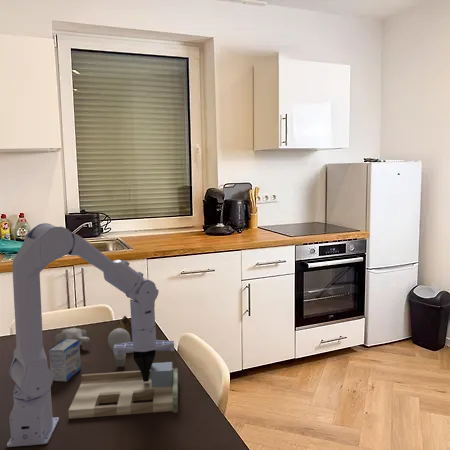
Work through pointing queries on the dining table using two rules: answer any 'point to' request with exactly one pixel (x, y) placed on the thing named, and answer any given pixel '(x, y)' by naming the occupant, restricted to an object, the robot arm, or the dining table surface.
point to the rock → (125, 326)
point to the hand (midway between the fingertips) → (146, 379)
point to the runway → (122, 395)
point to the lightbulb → (118, 338)
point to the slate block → (162, 374)
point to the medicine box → (65, 360)
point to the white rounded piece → (72, 335)
